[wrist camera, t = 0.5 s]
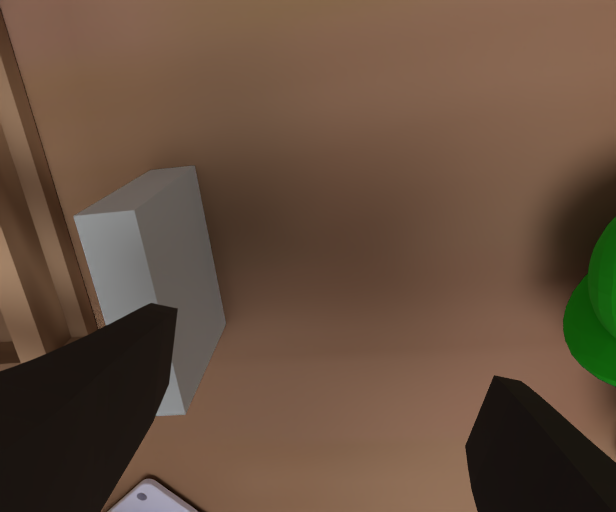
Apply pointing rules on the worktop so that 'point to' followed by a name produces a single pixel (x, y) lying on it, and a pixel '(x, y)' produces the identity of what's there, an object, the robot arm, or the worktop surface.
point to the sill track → (32, 237)
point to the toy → (595, 312)
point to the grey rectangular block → (158, 267)
